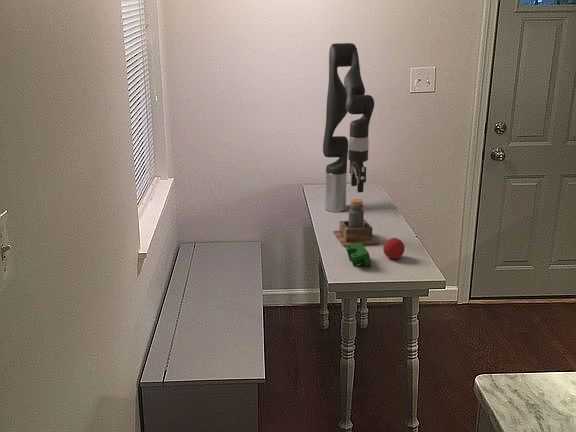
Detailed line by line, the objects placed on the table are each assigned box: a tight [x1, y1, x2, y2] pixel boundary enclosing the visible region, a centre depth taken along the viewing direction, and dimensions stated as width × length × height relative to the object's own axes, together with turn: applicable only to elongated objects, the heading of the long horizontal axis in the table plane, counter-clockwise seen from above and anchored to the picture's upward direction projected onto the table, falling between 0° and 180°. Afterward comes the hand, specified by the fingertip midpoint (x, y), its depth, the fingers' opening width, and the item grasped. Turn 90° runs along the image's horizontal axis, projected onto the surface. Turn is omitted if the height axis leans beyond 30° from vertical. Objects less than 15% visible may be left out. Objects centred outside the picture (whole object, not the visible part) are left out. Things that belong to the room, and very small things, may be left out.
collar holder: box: [332, 219, 380, 248], centre depth 264 cm, size 16×14×6 cm
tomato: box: [382, 237, 405, 260], centre depth 244 cm, size 8×8×8 cm
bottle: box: [348, 198, 365, 228], centre depth 262 cm, size 6×6×15 cm
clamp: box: [345, 242, 372, 268], centre depth 240 cm, size 12×6×9 cm, turn 3°
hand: (357, 189), depth 258 cm, fingers open, 8 cm apart
